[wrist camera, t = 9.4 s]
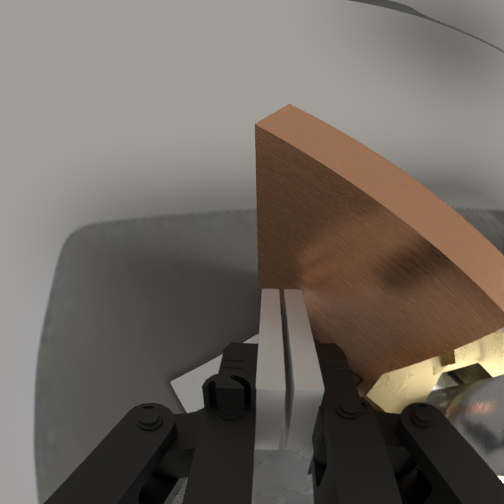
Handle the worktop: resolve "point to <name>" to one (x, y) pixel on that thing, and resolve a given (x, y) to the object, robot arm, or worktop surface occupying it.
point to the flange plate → (442, 395)
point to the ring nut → (375, 262)
